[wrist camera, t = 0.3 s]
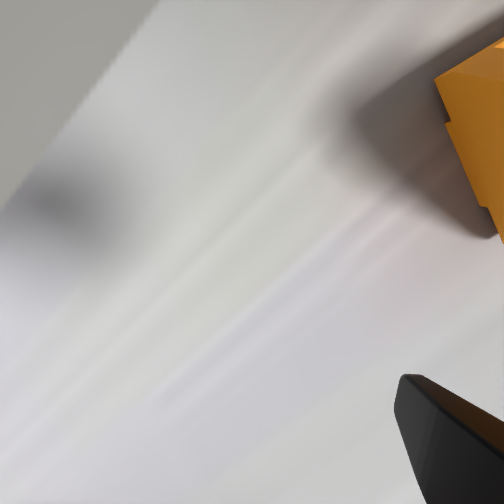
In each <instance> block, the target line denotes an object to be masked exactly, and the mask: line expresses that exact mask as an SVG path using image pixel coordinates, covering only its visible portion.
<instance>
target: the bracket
mask: <svg viewBox="0 0 504 504" xmlns="http://www.w3.org/2000/svg"><path fill="white" fill-rule="evenodd" d="M434 81H435V83H436V86H437V88H438V91H439V93H440V95H441V98H442V100H443V102H444V105H445V107H446V110H447V112H448V114H449V117H450V119H451V120H450V121H448V122H446V123H445V126H446V128H447V131H448V133H449V135H450V138H451V140H452V142H453V145H454V147H455V149H456V152H457V154H458V156H459V159H460V161H461V163H462V166H463V168H464V170H465V173H466V175H467V177H468V180H469V182H470V184H471V187H472V189H473V191H474V194H475V196H476V198H477V201H478V203H479V205H480V206H483V207H487V208H488V209H489V211H490V214H491V216H492V219H493V221H494V223H495V226H496V228H497V230H498V233H499V235H500V238H501V240H502V242H503V244H504V37H503V38H501V39H499V40H498V41H496V42H494V43H493V44H491V45H489V46H488V47H486V48H484V49H483V50H481V51H480V52H478V53H476V54H475V55H473V56H471V57H470V58H468V59H466V60H465V61H463V62H461V63H460V64H458V65H456V66H455V67H453V68H452V69H450V70H448V71H447V72H445V73H443V74H442V75H440V76H438V77H437V78H435V79H434Z"/></svg>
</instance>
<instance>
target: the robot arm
mask: <svg viewBox="0 0 504 504" xmlns="http://www.w3.org/2000/svg"><path fill="white" fill-rule="evenodd" d="M394 413H395V418H396V420H397V423H398V426H399V429H400V432H401V435H402V438H403V441H404V444H405V447H406V450H407V453H408V456H409V459H410V462H411V465H412V468H413V471H414V474H415V477H416V479H417V482H418V485H419V487H420V489H421V492H422V494H423V496H424V499H425V501H426V503H427V504H504V422H503V421H501V420H500V419H498V418H496V417H494V416H493V415H491V414H489V413H487V412H486V411H484V410H482V409H480V408H479V407H477V406H475V405H473V404H472V403H470V402H468V401H466V400H465V399H463V398H461V397H459V396H458V395H456V394H454V393H452V392H451V391H449V390H447V389H445V388H444V387H442V386H440V385H438V384H437V383H435V382H433V381H431V380H430V379H428V378H426V377H424V376H423V375H419V374H404V375H402V376H401V378H400V380H399V385H398V389H397V394H396V398H395V403H394Z"/></svg>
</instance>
